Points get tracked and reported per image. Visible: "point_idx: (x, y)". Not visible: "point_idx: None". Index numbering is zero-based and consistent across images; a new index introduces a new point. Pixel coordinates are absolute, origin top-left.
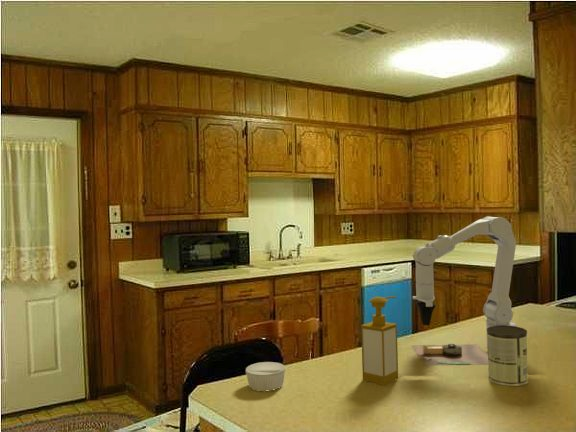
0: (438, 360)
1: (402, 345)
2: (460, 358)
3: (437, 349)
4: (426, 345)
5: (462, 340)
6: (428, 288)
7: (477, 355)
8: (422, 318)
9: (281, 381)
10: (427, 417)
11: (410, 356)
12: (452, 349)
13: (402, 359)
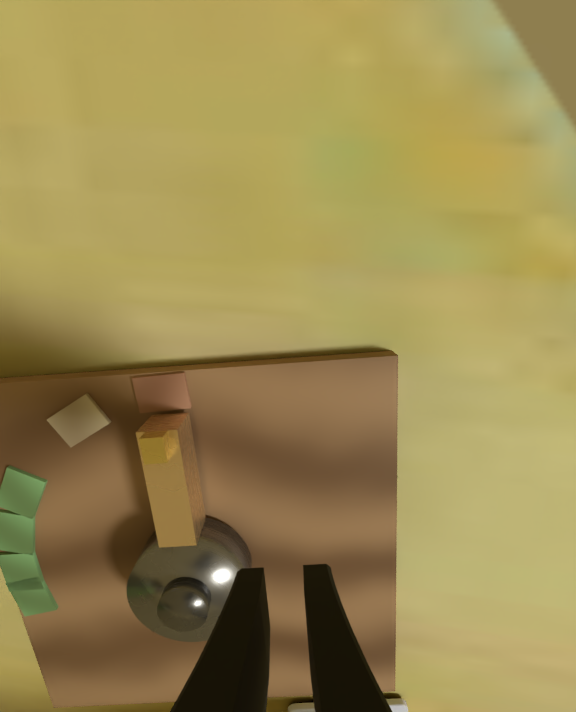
0: (58, 478)
1: (469, 293)
2: (119, 585)
3: (155, 511)
4: (164, 461)
5: (534, 634)
6: None
7: (187, 659)
8: (199, 661)
9: None
10: None
11: (199, 327)
12: (137, 592)
13: (124, 269)
